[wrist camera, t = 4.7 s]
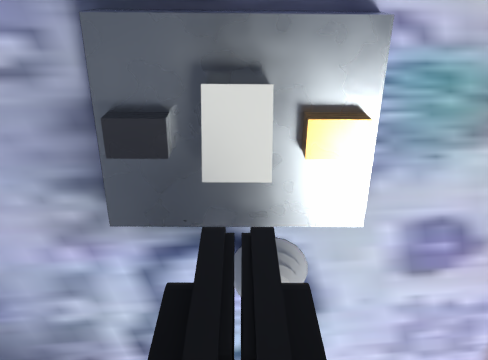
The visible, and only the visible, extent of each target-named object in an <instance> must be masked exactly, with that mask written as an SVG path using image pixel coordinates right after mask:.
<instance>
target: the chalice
mask: <svg viewBox="0 0 488 360" xmlns="http://www.w3.org/2000/svg"><path fill="white" fill-rule="evenodd" d="M275 240H276V247H277V254H278V262H279V269H280V276H281V283H304V281H305V278H306V276H307V261H306V259H305V256H304V254H303V253H302V252H301V251H300V249H299V248H298V247H297V246H295V245H294V244H292V243H290V242H288V241H287V240H283V239H278V238H275ZM241 255H242V247H241V248H239V249H238V250H237V252H236V253H235V254H234V288H235V289H236V290H237V292H238V294H239V295H240V296H241Z"/></svg>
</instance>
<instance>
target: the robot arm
mask: <svg viewBox="0 0 488 360" xmlns="http://www.w3.org/2000/svg"><path fill="white" fill-rule="evenodd" d="M148 360H234V233H226V228H225V227H202V232H201V239H200V245H199V252H198V259H197V265H196V272H195V278H194V283H167V284H166V287H165V290H164V294H163V298H162V303H161V307H160V311H159V315H158V319H157V323H156V327H155V331H154V336H153V340H152V344H151V348H150V352H149V356H148ZM241 360H327V359H326V355H325V351H324V346H323V342H322V338H321V333H320V329H319V325H318V320H317V316H316V311H315V307H314V303H313V298H312V294H311V290H310V286H309V284H308V283H281V276H280V269H279V262H278V254H277V247H276V240H275V233H274V227H251V230H250V233H242V255H241Z"/></svg>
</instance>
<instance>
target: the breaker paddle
mask: <svg viewBox="0 0 488 360" xmlns="http://www.w3.org/2000/svg"><path fill="white" fill-rule="evenodd" d="M273 87H274V84H201V132H202V182H261V183H272V144H273Z"/></svg>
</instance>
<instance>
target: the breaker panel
mask: <svg viewBox="0 0 488 360" xmlns="http://www.w3.org/2000/svg"><path fill="white" fill-rule="evenodd" d="M79 14H80V21H81V28H82V35H83V42H84V49H85V56H86V63H87V70H88V77H89V84H90V91H91V98H92V105H93V112H94V119H95V126H96V133H97V140H98V147H99V154H100V161H101V168H102V175H103V182H104V189H105V196H106V203H107V210H108V217H109V223H110V226H153V227H363V223H364V217H365V210H366V203H367V196H368V189H369V183H370V176H371V169H372V162H373V156H374V149H375V142H376V135H377V128H378V122H379V115H380V108H381V101H382V95H383V88H384V81H385V74H386V67H387V61H388V54H389V47H390V40H391V34H392V27H393V20H394V15H393V14H388V13H383V12H312V11H204V10H96V9H93V10H87V11H81V12H79ZM201 84H274V87H273V144H272V183H261V182H202V132H201Z"/></svg>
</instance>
